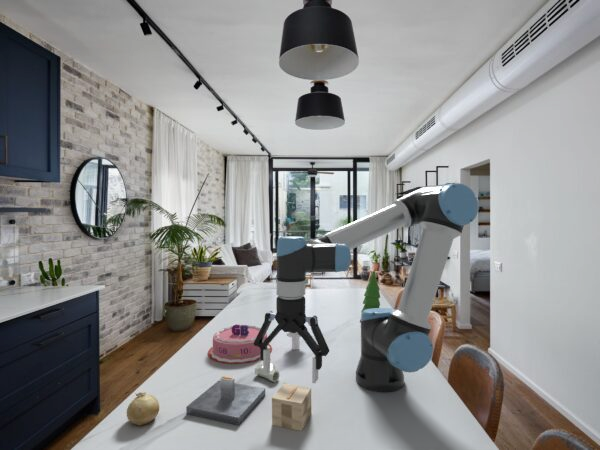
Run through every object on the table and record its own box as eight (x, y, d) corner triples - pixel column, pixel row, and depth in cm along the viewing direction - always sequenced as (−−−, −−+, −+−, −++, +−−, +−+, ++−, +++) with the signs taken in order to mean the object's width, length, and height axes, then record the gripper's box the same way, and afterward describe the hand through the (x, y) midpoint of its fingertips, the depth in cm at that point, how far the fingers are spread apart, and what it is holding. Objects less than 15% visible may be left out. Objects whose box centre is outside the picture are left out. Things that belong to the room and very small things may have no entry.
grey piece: (265, 394, 106) (265, 369, 106) (238, 425, 91) (238, 395, 91) (218, 386, 111) (218, 362, 111) (186, 414, 96) (185, 386, 96)
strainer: (302, 352, 138) (302, 314, 137) (285, 351, 139) (284, 313, 139) (306, 345, 145) (305, 309, 144) (289, 344, 146) (288, 308, 146)
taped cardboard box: (283, 408, 98) (283, 382, 98) (311, 413, 96) (311, 387, 96) (272, 424, 91) (271, 397, 91) (301, 431, 88) (301, 402, 88)
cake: (196, 362, 130) (195, 333, 130) (222, 338, 155) (222, 314, 154) (262, 367, 126) (261, 337, 125) (278, 341, 150) (278, 316, 150)
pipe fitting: (268, 371, 123) (254, 376, 118) (269, 360, 123) (255, 365, 118) (286, 378, 118) (271, 384, 113) (286, 366, 118) (272, 371, 113)
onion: (164, 411, 98) (163, 386, 97) (153, 429, 90) (152, 401, 89) (134, 412, 97) (133, 387, 97) (120, 430, 89) (120, 402, 89)
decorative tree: (387, 340, 150) (387, 269, 148) (371, 345, 144) (371, 272, 143) (370, 334, 158) (370, 266, 156) (354, 338, 152) (354, 269, 151)
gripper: (341, 296, 92) (340, 378, 92) (254, 289, 100) (254, 363, 101) (334, 303, 84) (333, 391, 85) (241, 295, 93) (241, 375, 93)
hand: (290, 376), depth 93 cm, fingers open, 13 cm apart
